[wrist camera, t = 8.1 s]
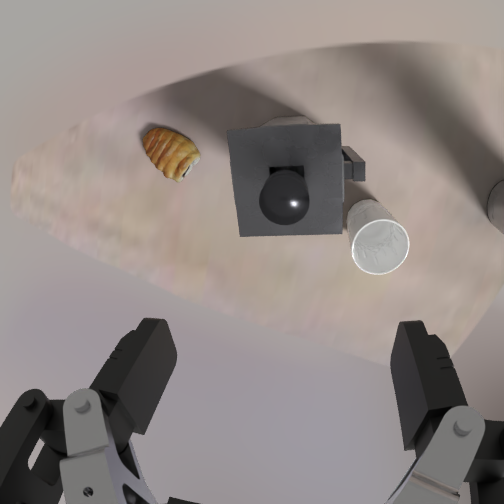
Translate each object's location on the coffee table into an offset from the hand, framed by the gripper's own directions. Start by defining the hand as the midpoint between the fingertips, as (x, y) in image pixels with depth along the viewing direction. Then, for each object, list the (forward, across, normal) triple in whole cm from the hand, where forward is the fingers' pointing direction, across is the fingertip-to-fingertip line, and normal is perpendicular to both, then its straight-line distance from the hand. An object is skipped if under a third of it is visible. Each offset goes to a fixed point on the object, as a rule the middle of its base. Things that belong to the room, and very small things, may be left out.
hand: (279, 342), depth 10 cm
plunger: (+29, +1, 0) cm, 29 cm away
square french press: (+38, 0, -1) cm, 38 cm away
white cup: (+38, -10, +10) cm, 41 cm away
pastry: (+38, +19, -2) cm, 43 cm away
